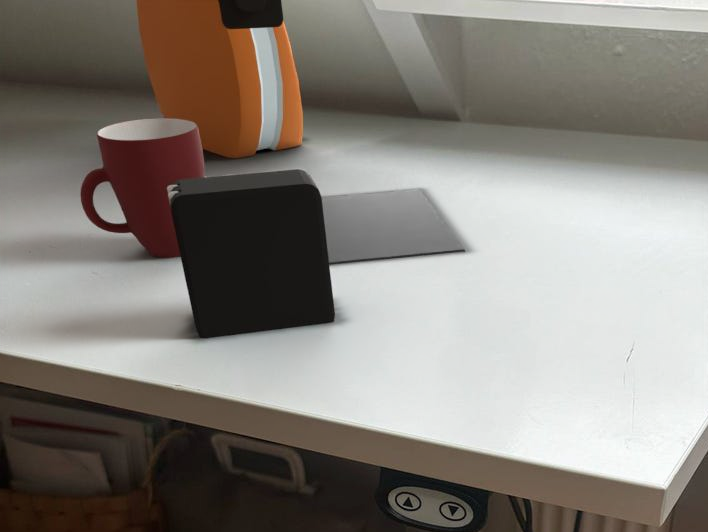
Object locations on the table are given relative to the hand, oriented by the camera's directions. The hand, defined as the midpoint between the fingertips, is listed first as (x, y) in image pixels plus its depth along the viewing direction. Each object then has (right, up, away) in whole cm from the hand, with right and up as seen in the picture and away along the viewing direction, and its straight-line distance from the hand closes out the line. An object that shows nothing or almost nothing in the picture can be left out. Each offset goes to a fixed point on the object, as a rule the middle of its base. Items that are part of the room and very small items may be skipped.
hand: (249, 15), depth 54 cm
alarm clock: (-17, +26, +63) cm, 70 cm away
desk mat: (0, +2, +34) cm, 34 cm away
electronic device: (-3, -12, +17) cm, 21 cm away
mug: (-15, -2, +29) cm, 33 cm away
